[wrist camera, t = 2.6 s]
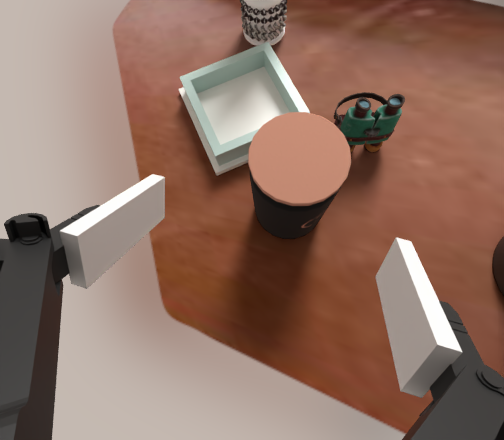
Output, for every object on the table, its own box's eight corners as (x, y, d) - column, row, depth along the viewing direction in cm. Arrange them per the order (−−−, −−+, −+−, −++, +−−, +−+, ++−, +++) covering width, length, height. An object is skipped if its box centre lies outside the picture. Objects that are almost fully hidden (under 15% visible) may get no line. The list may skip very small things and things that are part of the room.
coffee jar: (303, 252, 44) (325, 222, 27) (244, 222, 46) (229, 176, 29) (331, 195, 46) (368, 134, 29) (273, 169, 48) (275, 97, 31)
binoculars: (399, 57, 41) (418, 111, 38) (375, 109, 51) (387, 156, 48) (338, 63, 42) (351, 116, 38) (325, 114, 52) (334, 160, 48)
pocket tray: (315, 133, 50) (320, 118, 45) (216, 175, 49) (211, 163, 44) (270, 56, 55) (270, 35, 50) (180, 92, 54) (172, 74, 49)
